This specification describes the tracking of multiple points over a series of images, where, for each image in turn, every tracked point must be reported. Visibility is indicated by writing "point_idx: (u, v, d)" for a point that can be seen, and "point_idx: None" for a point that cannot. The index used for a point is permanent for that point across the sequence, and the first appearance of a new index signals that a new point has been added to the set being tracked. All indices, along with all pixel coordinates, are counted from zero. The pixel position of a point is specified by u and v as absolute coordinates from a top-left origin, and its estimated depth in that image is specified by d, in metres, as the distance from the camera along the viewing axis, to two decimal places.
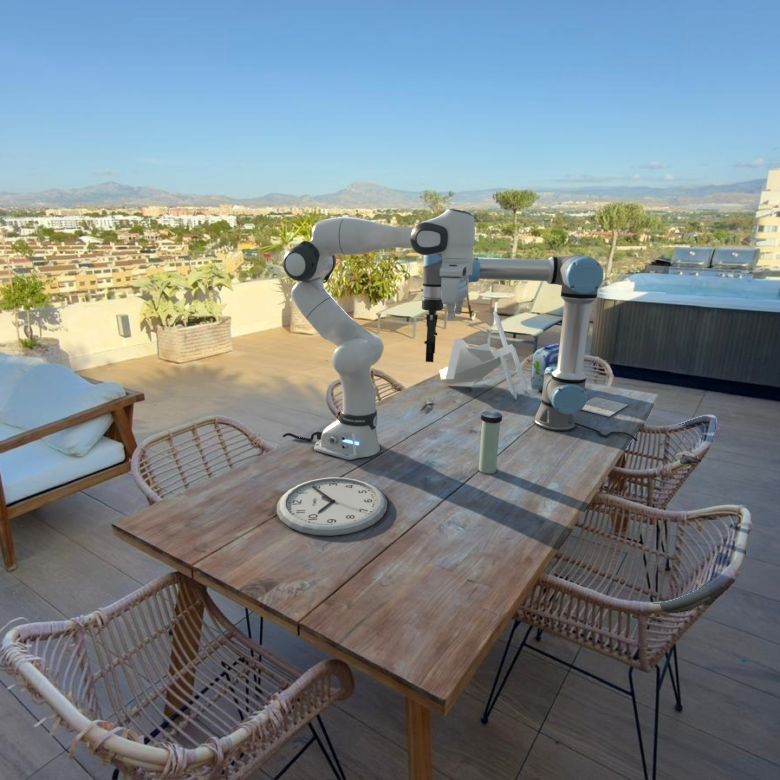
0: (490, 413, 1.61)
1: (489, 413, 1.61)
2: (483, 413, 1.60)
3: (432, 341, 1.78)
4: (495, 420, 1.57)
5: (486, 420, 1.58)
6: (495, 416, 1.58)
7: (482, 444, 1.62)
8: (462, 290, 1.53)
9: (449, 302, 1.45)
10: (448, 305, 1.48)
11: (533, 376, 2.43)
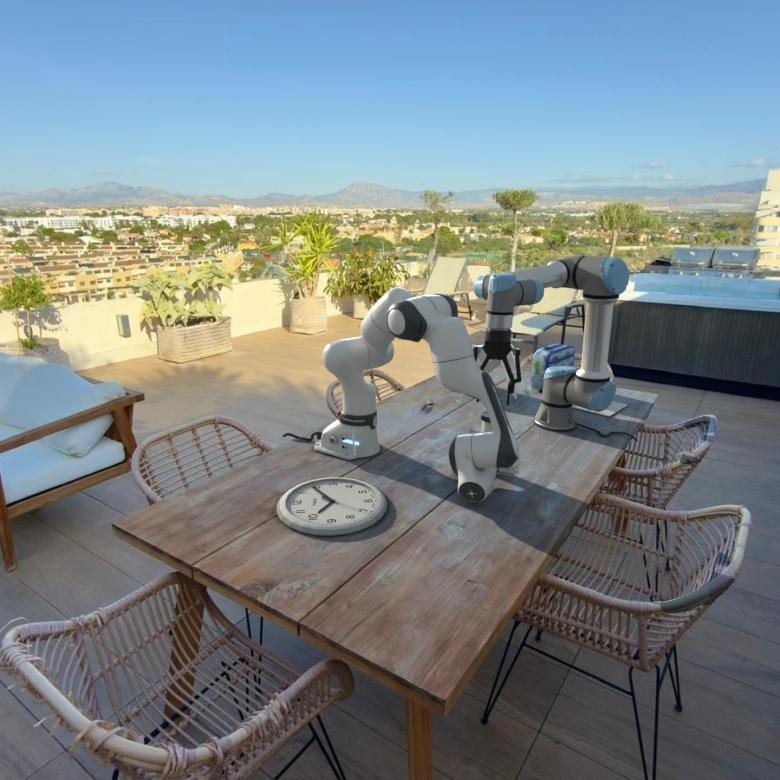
0: None
1: None
2: (483, 413, 1.60)
3: None
4: None
5: (486, 420, 1.58)
6: None
7: None
8: None
9: None
10: None
11: (533, 376, 2.43)
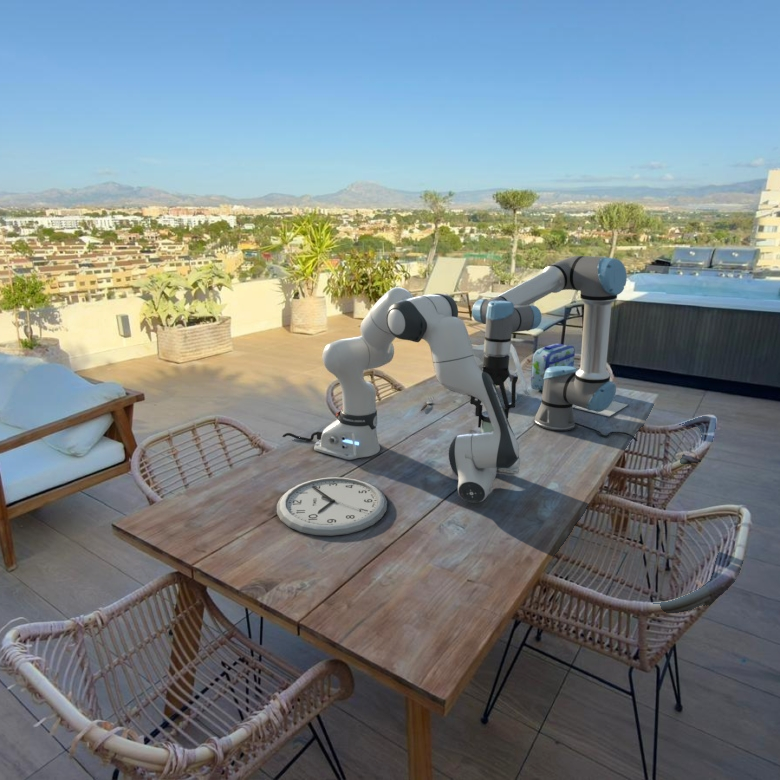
0: None
1: None
2: (483, 413, 1.60)
3: None
4: None
5: (486, 420, 1.58)
6: None
7: None
8: None
9: None
10: None
11: (533, 376, 2.43)
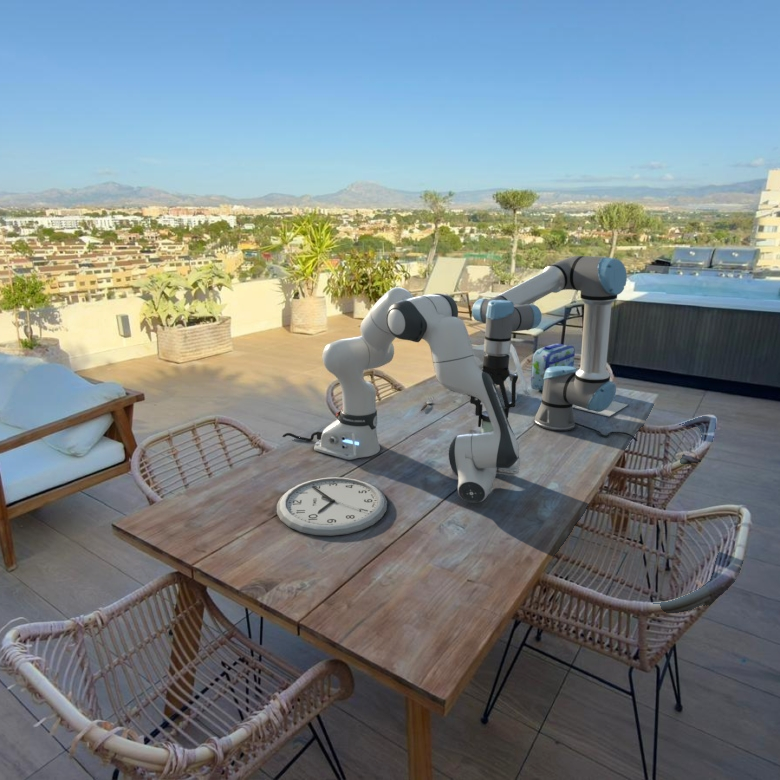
0: None
1: None
2: None
3: None
4: None
5: None
6: None
7: None
8: None
9: None
10: None
11: (533, 376, 2.43)
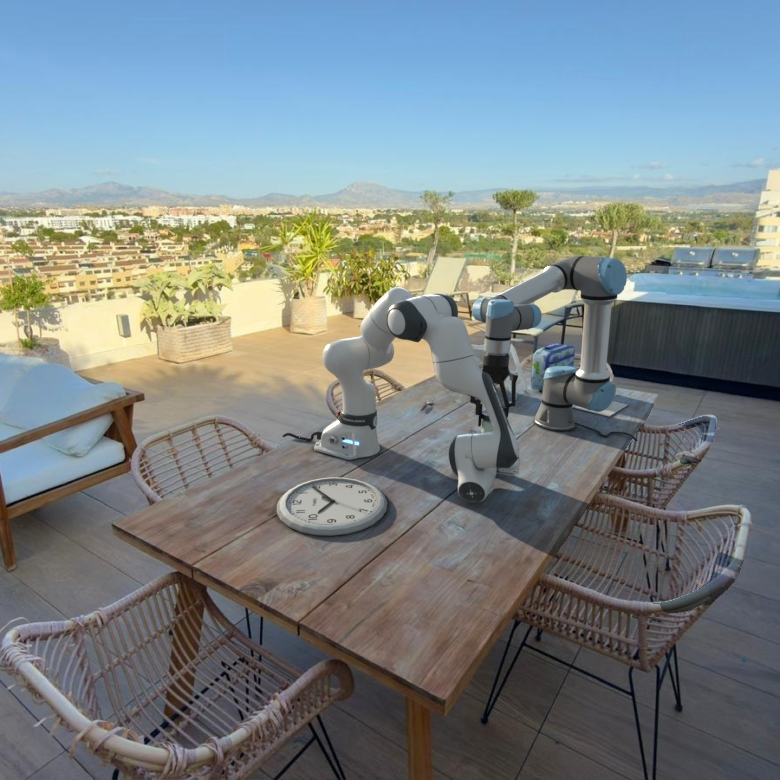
0: None
1: None
2: None
3: None
4: (481, 415, 1.60)
5: None
6: (485, 413, 1.60)
7: None
8: None
9: None
10: None
11: (533, 376, 2.43)
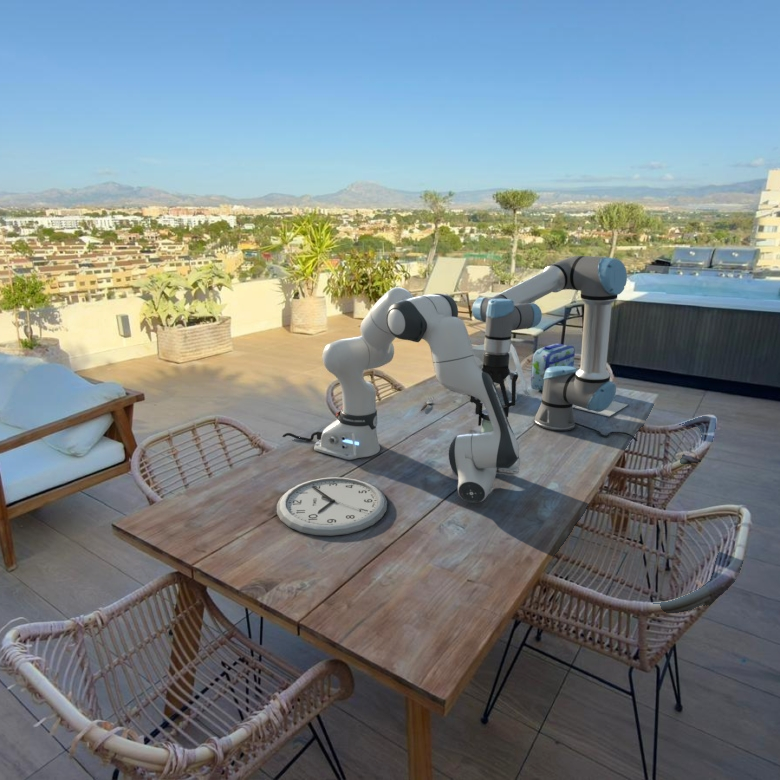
0: None
1: None
2: (483, 412, 1.60)
3: None
4: None
5: (489, 419, 1.57)
6: None
7: None
8: None
9: None
10: None
11: (533, 376, 2.43)
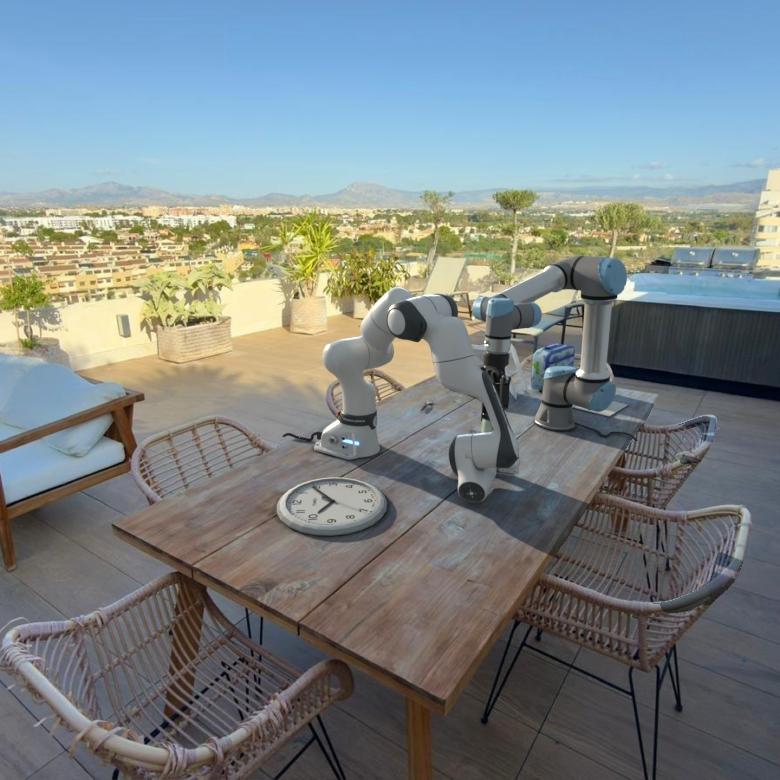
0: None
1: None
2: None
3: (507, 406, 1.53)
4: None
5: None
6: None
7: None
8: None
9: None
10: None
11: (533, 376, 2.43)
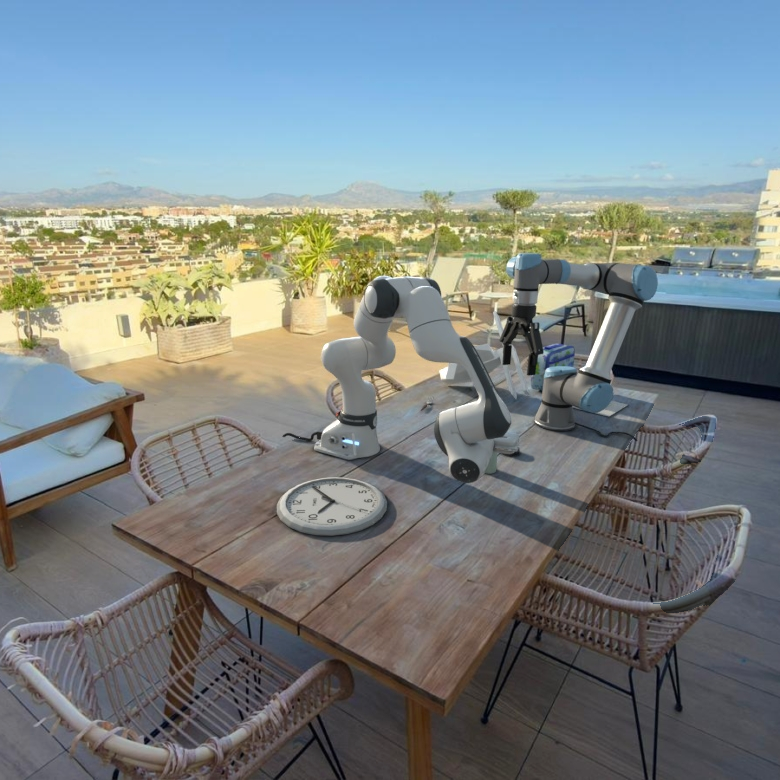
0: None
1: None
2: None
3: (542, 352, 1.59)
4: None
5: None
6: None
7: None
8: None
9: None
10: None
11: (533, 376, 2.43)
